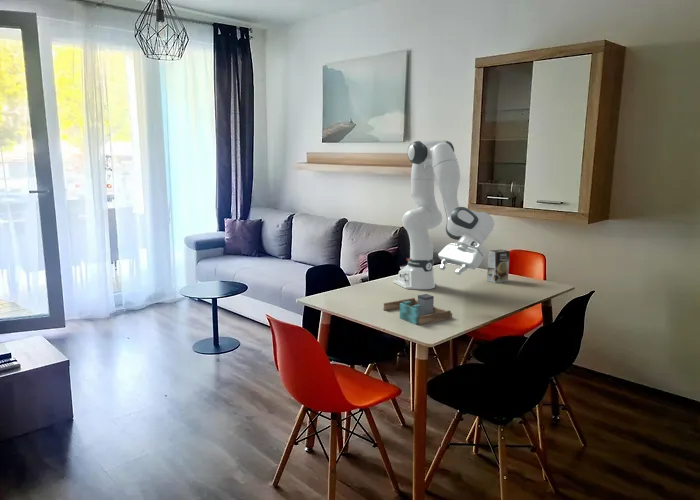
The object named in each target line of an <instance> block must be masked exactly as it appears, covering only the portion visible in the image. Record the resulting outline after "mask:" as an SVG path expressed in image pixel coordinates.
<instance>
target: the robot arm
mask: <svg viewBox="0 0 700 500" xmlns="http://www.w3.org/2000/svg"><path fill="white" fill-rule="evenodd" d="M407 159H408V160H409V162H410V163H411V164H412V165H411V172H410V196H411V197H412V199H413V200H414V203H415V205H416V208H413V209H410V210H407V211H406V212H405V213H404V214H403V216H402V217H401V224H402V226H403V228H404V229H405V230H406V232H407V235H408V238H409V244H410V245H409V248H410V249H409V257H407V259H406V262H407V265H405V266H404V267H403V268H402V269H400V270H399V271H398V274H397V276H398V277H397V279H393V280H392V281H393V283H394V284H396V285H398V286H400V287H402V288H404V289H407V290H410V289H411V290H431V289H432V290H433V289H434V288H435V287H436V281H435V270H434V268H433V267H434V262H435V260H434V256H433V255H434V243H433V241H432V240H431V238H430V234H429V230H433V229H435V228H437V227H439V226H440V225H441V223H442V221H443V214H442V212H441V211H440V210H439V208H438V206H437V201H436V195H435V179H436V183H437V185H438V188H439V191H440V194H441V198H442V202H443V207H444V212H445V215H446V225H445V233H446V235H447V236H448V237H449V238H450V239H452V240H455V241H457V242H451V243H448V244H447V245H445V247H443V248H442V249H441V251H440V252H439V253H438V258H439V259H440V260H441V262H440V263H441V264H440V265H439V270H441V271H445V269H446V268H447V267H446V265H447V264H451V265H456V266H459V267H460V268H457V269H456V270H455V272H454V273H455V274H456V275H458V276H461V274H462V273H463V272H465V271H467V270H468V269H471V270H476V269H478V268H479V266H480V265H481V263H482V262H483V260H484V258H485V257H486V256H487V253H486V251H485V249H484V248H483V247H482V246H483V243H484V242H486V240H487V239H488V237H489V236H490V234H492V231H493V229H494V227H495V220H494V218H493V217H492V216H491V215H490V214H489V213H487V212H485V211H475V210H471V209H469V208H467V207H465V206H460V204H459V201H458V189H459V184H460V179H461V171H460V170H461V169H460V166H459V161H458V159H457V157H456V154H455V147H454V144H453V143H452V142H451V141H448V140H437V139H430V140H421V141H420V140H416V141H412V142H411V143H410V144H409V146H408V148H407Z"/></svg>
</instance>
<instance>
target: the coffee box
mask: <svg viewBox="0 0 700 500" xmlns="http://www.w3.org/2000/svg"><path fill="white" fill-rule="evenodd" d="M510 253H511V252H510V250H507V249H492V250H491V249H490V250H488V257H487V258H488V259H487V273H486V274H487V275H486V281H487V282H490V283H493V284H497V283H505V282H508V281H509V271H510V269H509V268H510Z"/></svg>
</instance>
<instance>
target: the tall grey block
mask: <svg viewBox="0 0 700 500" xmlns="http://www.w3.org/2000/svg"><path fill="white" fill-rule="evenodd" d="M417 301H418V304H419V305H422V308H418V317H419V316H424V315H429V314H434V312H433V306H434V295H432V294H431V295H430V294H428V293H424V294H423V293H422V294H418V295H417Z"/></svg>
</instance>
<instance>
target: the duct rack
mask: <svg viewBox="0 0 700 500" xmlns="http://www.w3.org/2000/svg"><path fill="white" fill-rule="evenodd" d="M418 308H422V305H419V304H418V299H416V298H415V297H411V298H405V299H401V300H394V301H389V302H388V301H387V302H383V311H384V312H385V311H391V310H395V309H397V310H398V309H399V319H402V320H404V321H405V322H409V323H411V324H413V325H419V326H421V325H427V324H430V323H434V322H439V321H443V320H449V319H452V318H453V312H451V310H445V309H442V308H440V307H437V306H434V305H433V314H429V315H424V316H419V317H418Z"/></svg>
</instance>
